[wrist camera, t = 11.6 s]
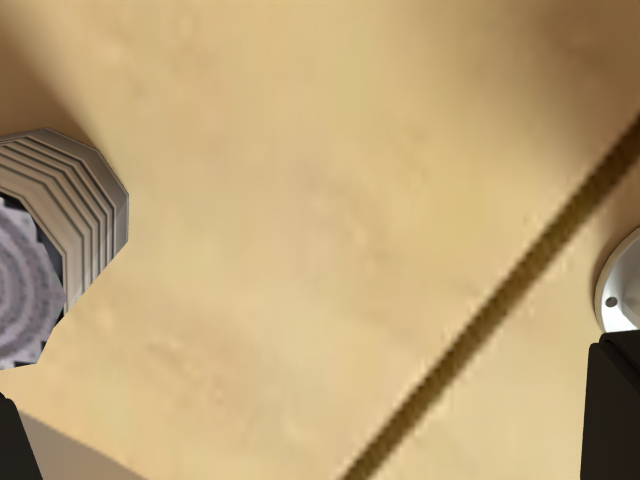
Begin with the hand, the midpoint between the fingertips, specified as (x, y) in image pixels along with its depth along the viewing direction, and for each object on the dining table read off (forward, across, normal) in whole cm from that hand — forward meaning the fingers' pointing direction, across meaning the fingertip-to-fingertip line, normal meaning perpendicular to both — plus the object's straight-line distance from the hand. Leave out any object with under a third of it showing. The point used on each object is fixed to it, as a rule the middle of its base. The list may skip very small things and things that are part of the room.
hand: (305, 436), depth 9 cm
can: (+31, +19, +4) cm, 36 cm away
